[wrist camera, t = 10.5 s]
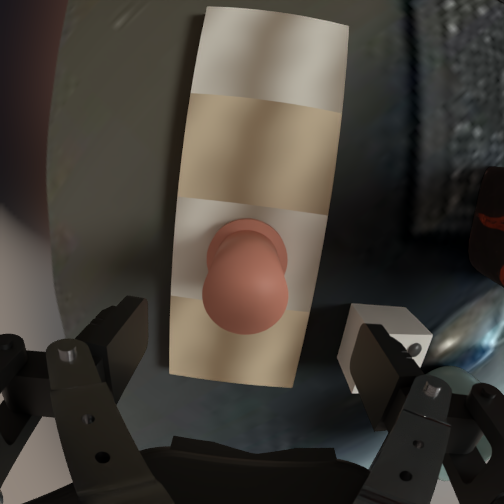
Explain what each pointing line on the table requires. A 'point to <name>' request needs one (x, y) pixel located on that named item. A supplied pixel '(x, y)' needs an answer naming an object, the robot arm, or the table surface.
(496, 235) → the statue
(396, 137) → the table surface
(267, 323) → the pawn
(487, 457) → the cup
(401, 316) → the die
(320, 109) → the board
